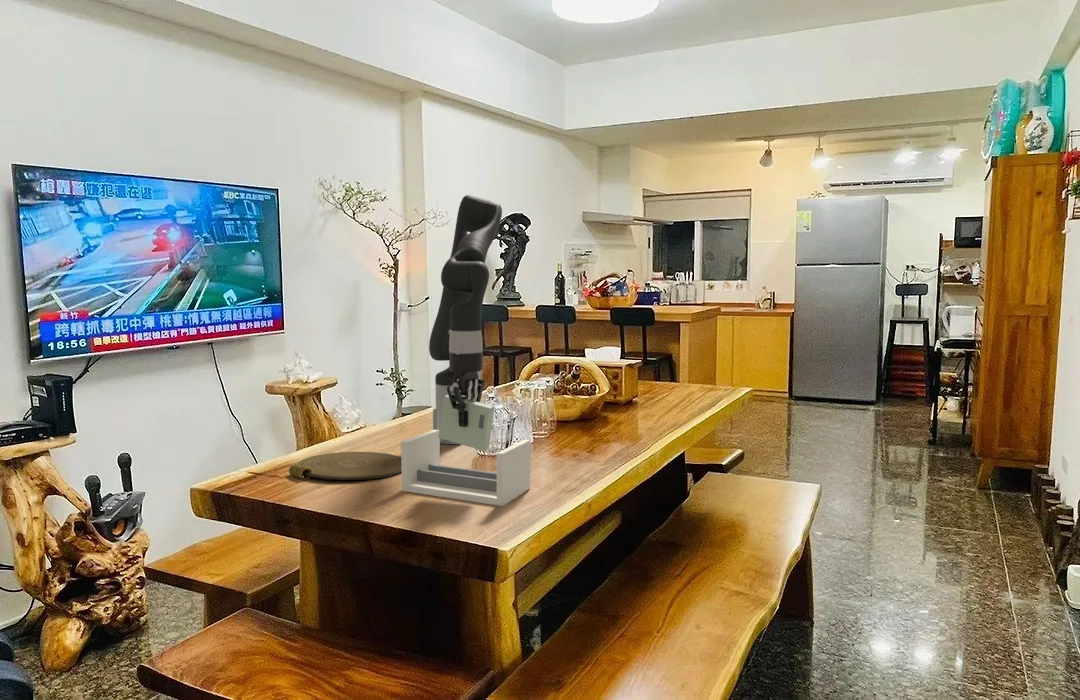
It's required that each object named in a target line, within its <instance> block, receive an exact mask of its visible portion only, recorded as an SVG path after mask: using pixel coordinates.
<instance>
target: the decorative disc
mask: <svg viewBox="0 0 1080 700" xmlns="http://www.w3.org/2000/svg"><path fill="white" fill-rule="evenodd" d="M288 473H289V474H290V476H293V477H295V476H296V477H295V478H299V479H300V480H302V479H307V480H309V479H310V478H311V477H312V478H313V477H314V478H318V479H323V480H334V481H335V480H336V481H337V480H338V481H355V480H356V481H359V480H360V481H363V480H372V479H380V478H387V477H392V476H396V475H399V474H402V469H401V456H399V455H395V454H391V453H387V452H385V453H383V452H376V451H374V452H373V451H341V452H340V451H339V452H330V453H323V454H318V455H312V456H310V457H307V458H304V459H302V460H300V461H298V462H297V463H295V464H294V463H293V464H291V466H290V467H289V469H288ZM303 476H304V477H303ZM308 478H309V479H308Z"/></svg>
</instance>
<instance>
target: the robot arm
mask: <svg viewBox="0 0 1080 700" xmlns="http://www.w3.org/2000/svg"><path fill="white" fill-rule="evenodd" d="M502 215H503V208H502V206H501V204H500V203H498V202H496V201H494V200H492V199H491V200H490V199H486V198H482V197H478V196H475V195H470V194H469V195H467V194H466V195H464V196H463V197H462V199H461V201H460V204H459V206H458V212H457V216H456V221H455V222H456V223H455V229H454V236H453V243H452V249H451V253H450V256H449V258H448V260H446V262H445V263H444V265H443V267H442V269H441V273H440V283H441V285H442V287H443V288H442V293H441V298H440V302H439V307H438V312H437V314H436V318H435V320H434V324H433V326H432V330H431V333H430V337H429V341H428V343H429V344H428V350H429V351H428V352H429V355H430V358H431V359H433V360H435V361H437V362H438V361H440V362H442V361H443V362H444V361H449V362H448V363H449V364H448V365H449V366H448V367H447V368H446V369H445V368H444V369H443V370H442V371H441V370H440V371H439V372H438V373H436V374H435V380H434V381H435V383H434V384H435V408H433V410H432V427H433V428H432V430H440V422H441V414H442V406H443V399H444V396H446V395H449V398H450V402H451V405H452V408H453V409H457V410H458V420H459V426H460V427H467V426H468V403H469V400H472V401H476V402H480V403H481V400H482V395H483V390H484V386H485V382H486V381H485V379H480V378H479V372H482V371H483V369H484V368H483V367H484V361H483V360H484V358H483V334H482V309H483V303H484V297H485V294H486V291H487V289H488V288H487V287H488V284H489V280H490V272H489V268H488V266H487V264H485V263H486V260H487V254H488V252H489V249H490V247H491V245H492V243H493V241H494V239H495V237H496V236H497V234H498V232H499V228H500V225H501V220H502ZM463 400H464V403H463ZM456 401H457V403H456ZM441 444H443V445H459V444H458V443H455V442H452V441H448V440H445V439H441V438H440V445H441Z"/></svg>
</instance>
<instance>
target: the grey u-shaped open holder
mask: <svg viewBox="0 0 1080 700" xmlns="http://www.w3.org/2000/svg"><path fill="white" fill-rule="evenodd" d="M438 437H439V430H433V429H431V430H430V431H426V432H423V433H422V434H418V435H415V436H413V437H410V438H407V439H405V440H402V441H400V448H401V449H400V451H401V452H400V453H401V454H400V455H401V456H400V457H401V469H402V472H401V491H402V492H407V493H413V494H414V493H415V494H420V495H427V496H434V497H441V498H448V499H453V500H461V501H466V502H467V501H468V502H475V503H479V504H486V505H492V506H493V505H494V506H500V507H504V506H505V505H507V504H509V503H510V502H512V501H513V500H515V499H516V498H518V497H519V495H520V496H521V495H523V494H524V493H526V492H527V491H526V490H527V489H529V488H530V489H531V443H532V442H531V439H522V440H520V441H519V442H516V443H515V444H514V443H513V445H511V446H509V447H506V448H505V449H502V450H501V451H498V452H496V472H494V471H485V470H480V469H479V470H478V469H472V468H471V469H470V468H464V467H456V466H448V465H441V453H440V452H441V450H440V446H441V443H440V438H438ZM530 489H529V490H530ZM525 491H526V492H525ZM523 492H524V493H523ZM522 493H523V494H522ZM511 500H512V501H511Z"/></svg>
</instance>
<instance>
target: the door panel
mask: <svg viewBox="0 0 1080 700" xmlns="http://www.w3.org/2000/svg"><path fill="white" fill-rule="evenodd" d="M456 403H457V401H456ZM463 403H464V400H463ZM495 407H496V406H494V405H491V404H486V403H483V402H481V401H480V402H476V401H472V400H469V403H468V426H467V427H460V426H459V420H458V410H457V409H453V408H452V405H451V402H450V398H449V395H446V396H444V399H443V406H442V414H441V422H440V430H439V437H438V438H441V439H445V440H448V441H452V442H455V443H458V444H457V445H462V446H465V447H469V448H473V449H475V450H479V451H482V452H485V451H487V450H488V449H489V448H490V441H491V435H492V428H493V427H492V426H493V421H494V413H495Z"/></svg>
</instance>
